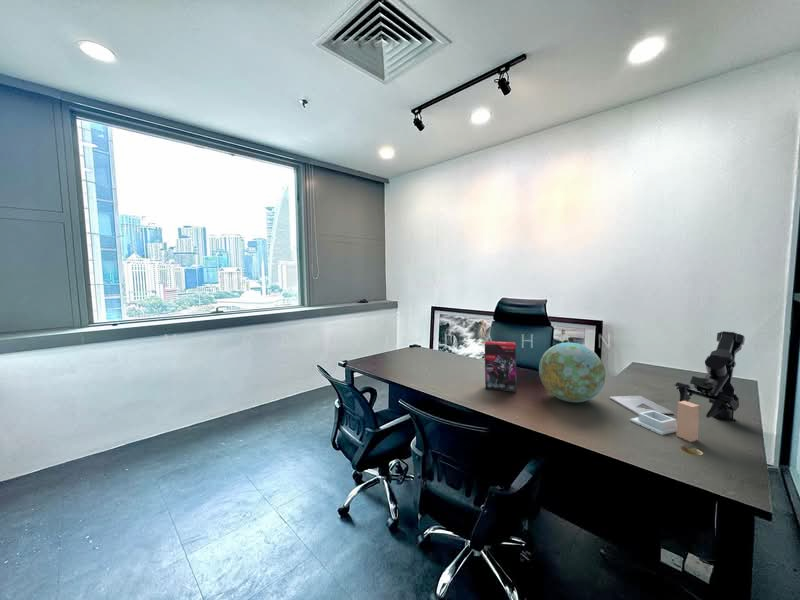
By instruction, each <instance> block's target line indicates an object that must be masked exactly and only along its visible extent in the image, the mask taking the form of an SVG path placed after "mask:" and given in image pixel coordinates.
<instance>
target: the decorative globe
mask: <svg viewBox="0 0 800 600" xmlns="http://www.w3.org/2000/svg"><path fill="white" fill-rule="evenodd" d="M538 364H539V365H538V373H539V374H538V375H539V378H540V381H541V383H542V385H543V386H544V388H545V389H546V390H547V391H548V393H550V394H551V395H553V396H554V397H556V398H557V399H559V400H562V401H565V402H568V403H581V402H586V401H590V400H591V399H593V398H595V397H596V396H597V395H598V394H599V393H600V392H601V390H602V389H603V387H604V385H605V382H606V369H605V367H604V363H603V362H602V360H601V358H600V357H599V356H598V354H597V353H596V352H595V351H593V350H592V349H591V348H590V347H588V346H585V345H583V344H581V343H576V342H570V341H569V342H561V343H557V344H555V345H553V346H551V347H550V348H548V349H547V350H545V352H544V353H543V355H542V357H540V361H539V363H538Z"/></svg>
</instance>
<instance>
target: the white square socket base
mask: <svg viewBox="0 0 800 600" xmlns="http://www.w3.org/2000/svg"><path fill="white" fill-rule="evenodd" d="M629 420H630V421H629V422H632V423H634V424H637V425H639V426H640V425H641V427H643V428H645V429H648V430H649V429H650V430H649V431H652V432H654V433H656V434H658V435H660V436H664V435H668V434H672V433H676V429H677V418H674V417H671V416H670V415H664V414H661V413H659V412H656V411H654V410H652V411H647V412H642V413H639V414H638V415H637V417H634V418H633V417H632V418H630V419H629Z"/></svg>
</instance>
